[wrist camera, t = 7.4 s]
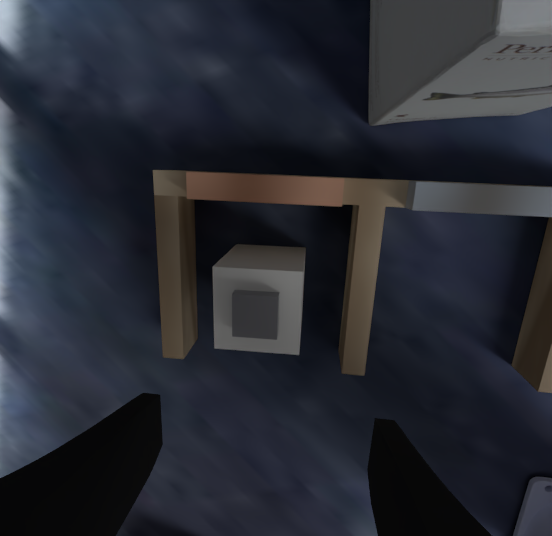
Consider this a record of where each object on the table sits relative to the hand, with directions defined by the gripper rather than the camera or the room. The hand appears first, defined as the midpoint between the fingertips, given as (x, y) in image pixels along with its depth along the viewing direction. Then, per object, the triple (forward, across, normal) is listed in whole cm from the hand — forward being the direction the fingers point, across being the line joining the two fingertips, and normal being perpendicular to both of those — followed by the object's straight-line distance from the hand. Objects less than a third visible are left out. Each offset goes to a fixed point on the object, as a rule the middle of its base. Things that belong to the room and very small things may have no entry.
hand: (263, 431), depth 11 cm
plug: (+10, +1, -2) cm, 10 cm away
